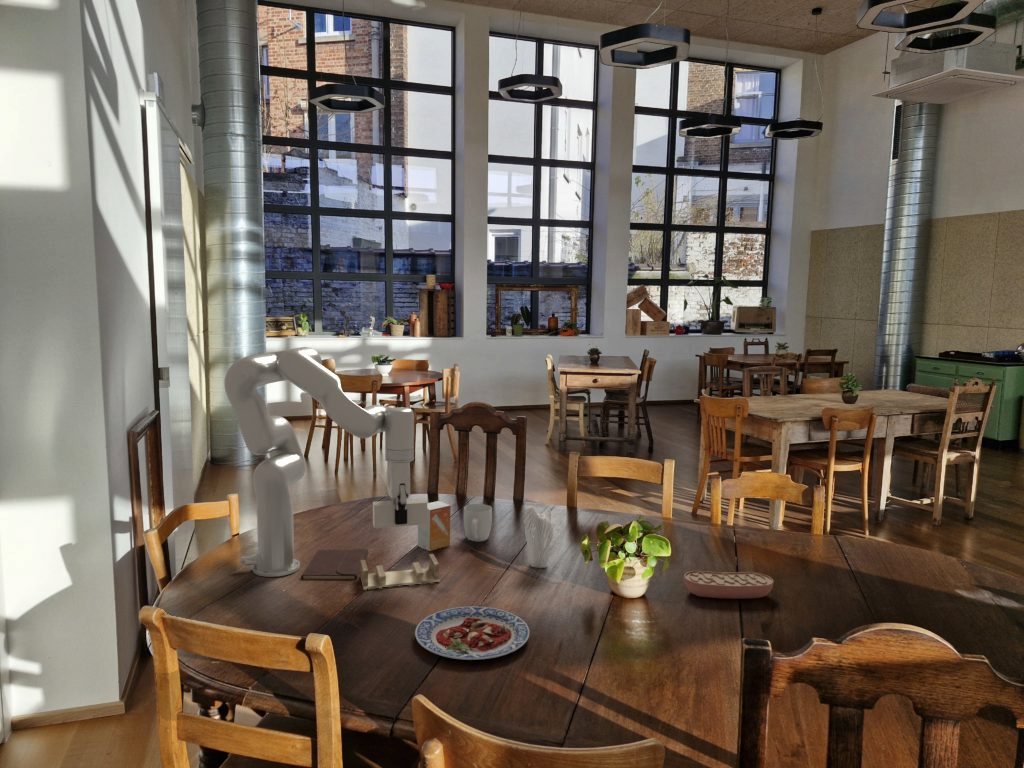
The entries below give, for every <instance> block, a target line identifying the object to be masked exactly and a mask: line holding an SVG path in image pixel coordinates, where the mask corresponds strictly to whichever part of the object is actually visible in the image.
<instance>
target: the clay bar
mask: <svg viewBox="0 0 1024 768" xmlns="http://www.w3.org/2000/svg"><path fill="white" fill-rule="evenodd" d="M399 502H400V500H399V501H398V503H399ZM427 503H428V502H427V499H426V498H413V499H411V498H410V499H407V524H399V525H396V524H395V509H396V500H394V501H393V500H384V501H383V500H382V501H373V502H372V525H373V528H374V529H380V528H381V529H382V528H384V529H385V528H395V527H398V528H399V527H407V526H408V527H410V526H418V525H426V524H427Z"/></svg>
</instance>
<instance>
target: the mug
mask: <svg viewBox="0 0 1024 768" xmlns="http://www.w3.org/2000/svg"><path fill="white" fill-rule="evenodd" d="M492 521H493V508H492V506H491V505H488V504H482V503H472V504H468V505H465V506H463V529H464V533H465V536H466V539H467V540H469V541H470V540H471V541H470V542H477V543H478V542H485V541H487V540H488V539H489V538H490V537H489V536H490V533H491V529H492V523H493V522H492Z"/></svg>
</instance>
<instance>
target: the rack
mask: <svg viewBox="0 0 1024 768" xmlns="http://www.w3.org/2000/svg"><path fill="white" fill-rule="evenodd" d="M359 574H360V581H361V584H362V589H363V590H364V591H367V589H368V590H375V588H379V589H383V588H382V587H389V588H391V587H390V586H398V585H409V584H419V583H430V582H439V583H440V564H439V561H438V560H437V557H436V556H435V554H434V553H429V554H428V567H424V568H422V567H421V564H420V563H419V561H417V562H412V569H404V570H393V571H391V570H390V571H385V570H384V566H383V565H382V564H381V565H376V566H375V572H371V573H369V569H368V565H367V562H366V559H365V560H361V571H360V573H359ZM430 584H431V583H430ZM409 586H410V585H409Z"/></svg>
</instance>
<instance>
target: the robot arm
mask: <svg viewBox="0 0 1024 768" xmlns="http://www.w3.org/2000/svg"><path fill="white" fill-rule="evenodd" d="M283 381H289V382H290V383H291V384H292V385H294V386H295V387H297V388H299V389H300V390H301V391H302V392H304V393H306V394H307V395H308V396H310V397H311V398H313V399H314V400H316V401H317V402H318V403H319V404H320V406H321V407H322V409H323V411H324V412H325V413H326V415H327V416H328V417H329V418H330V420H332V421H333V422H334V423H335V424H336V425H337V426H339V427H341V429H343V430H345V431H346V432H347V433H349V434H351V435H352V436H354V437H355V438H359V439H369V438H371V437H373V436H375V435H377V434H380V433H383V432H384V453H385V454H384V459H385V461H386V462H388V463H387V486H386V489H387V490H386V491H387V493H388V496H389V497H390V499H391V501H394V500H396V509H395V524H396V525H399V524H407V500H409V498H410V496H411V462H413V461H414V460H415V454H414V453H415V449H414V448H415V446H414V445H415V444H414V442H415V441H414V440H415V436H414V435H415V430H414V429H415V428H414V426H415V424H414V423H415V418H414V417H415V415H414V410H413V409H411V408H410V407H403V406H401V407H397V406H396V407H392V406H386V405H381V404H380V405H379V404H371V405H369V406H366V407H363V408H362V407H361V406H360V405H358V404H357V403H355V402H354V401H353V400H351V399H350V398H349V397H348V396H347V395H346V394H345V393H344V391H343V388H342V385H341V379H340V377H339V375H336V373H334V372H333V371H331V370H329V369H328V367H327V368H326V367H325V366H324V365H323V360H322V356H321V355H320V353H319V352H318V351H316V350H315V349H313V348H312V347H307V346H302V347H296V348H290V349H288V350H281V351H279V350H278V351H273V352H265V353H259V354H253V355H252V354H251V355H247V356H244V357H241V358H239V359H237V360H236V361H235V362H233V363H232V364H231V365H230V367H229V368H228V369H227V372H226V374H225V376H224V389H225V394H226V396H227V399H228V401H229V404H230V405H231V408H232V410H233V412H234V415H235V418H236V422H237V425H238V427H239V429H240V433H241V436H242V439H243V442H244V444H245V446H246V448H247V450H248V452H249V453H251V454H252V455H255V456H263V455H264V456H265V455H267V454H269V458H266V459H264V460H262V461H261V462H260V463H259V464H258V465H257V466H256V467H255V469H254V470H253V474H252V484H253V490H254V494H255V495H254V496H255V502H256V518H257V519H256V521H257V522H256V523H257V524H256V525H257V526H256V527H257V528H256V530H257V531H256V533H257V551H256V554H253V555H252V556H241V557H240V563H241V564H240V565H243V564H245V566H246V567H247V566H252V573H253V574H254V575H256V576H259V577H264V578H265V577H266V578H276V577H283V576H287V575H291V574H293V573H296V572H297V571H298V570H299V569H300V567H301V563H300V561H299V560H298V559H296V558H295V543H294V542H295V540H294V537H295V536H294V506H293V505H294V504H293V499H292V496H291V493H290V487H291V486H293V485H294V484H296V483H298V482H299V481H301V479H303V477H304V476H305V473H306V467H307V466H306V461H305V456H304V454H303V451H302V449H301V446H300V444H299V441H298V437H297V435H296V432H295V430H294V428H293V426H292V425H291V423H290V421H289V420H287V418H284V417H283V416H280V415H271V414H270V412H269V409H268V405H267V404H266V403H267V402H266V401H265V399H264V398H263V396H262V395H261V393H259V391H258V387H260V386H264V385H268V384H272V383H273V384H274V383H278V382H283ZM399 500H400V502H399V503H398V501H399Z"/></svg>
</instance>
